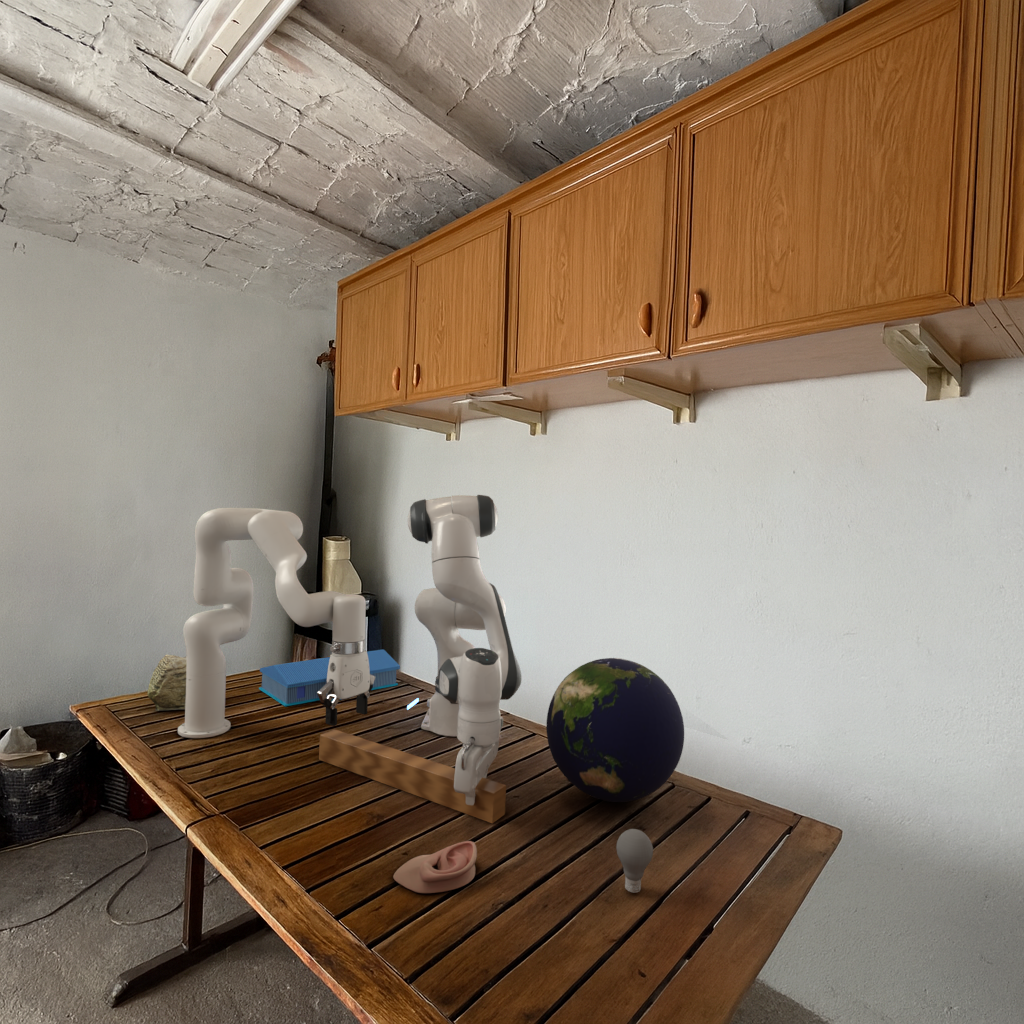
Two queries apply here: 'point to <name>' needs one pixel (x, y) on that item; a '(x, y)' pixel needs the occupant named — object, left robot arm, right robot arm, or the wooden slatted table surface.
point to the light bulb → (634, 857)
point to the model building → (319, 677)
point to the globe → (615, 730)
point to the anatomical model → (439, 869)
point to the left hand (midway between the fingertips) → (346, 718)
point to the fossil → (169, 683)
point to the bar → (410, 774)
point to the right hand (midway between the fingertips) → (475, 795)
